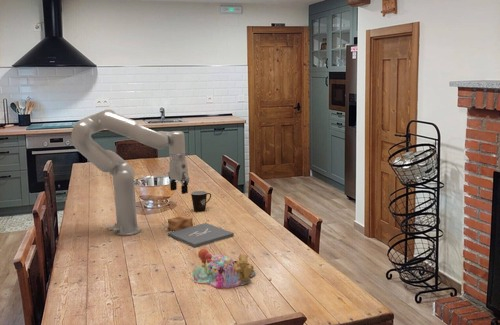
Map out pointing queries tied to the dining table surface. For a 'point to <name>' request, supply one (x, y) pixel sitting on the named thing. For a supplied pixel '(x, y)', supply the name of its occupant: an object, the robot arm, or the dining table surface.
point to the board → (200, 234)
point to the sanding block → (180, 223)
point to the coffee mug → (199, 200)
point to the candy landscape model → (222, 270)
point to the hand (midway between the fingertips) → (179, 191)
